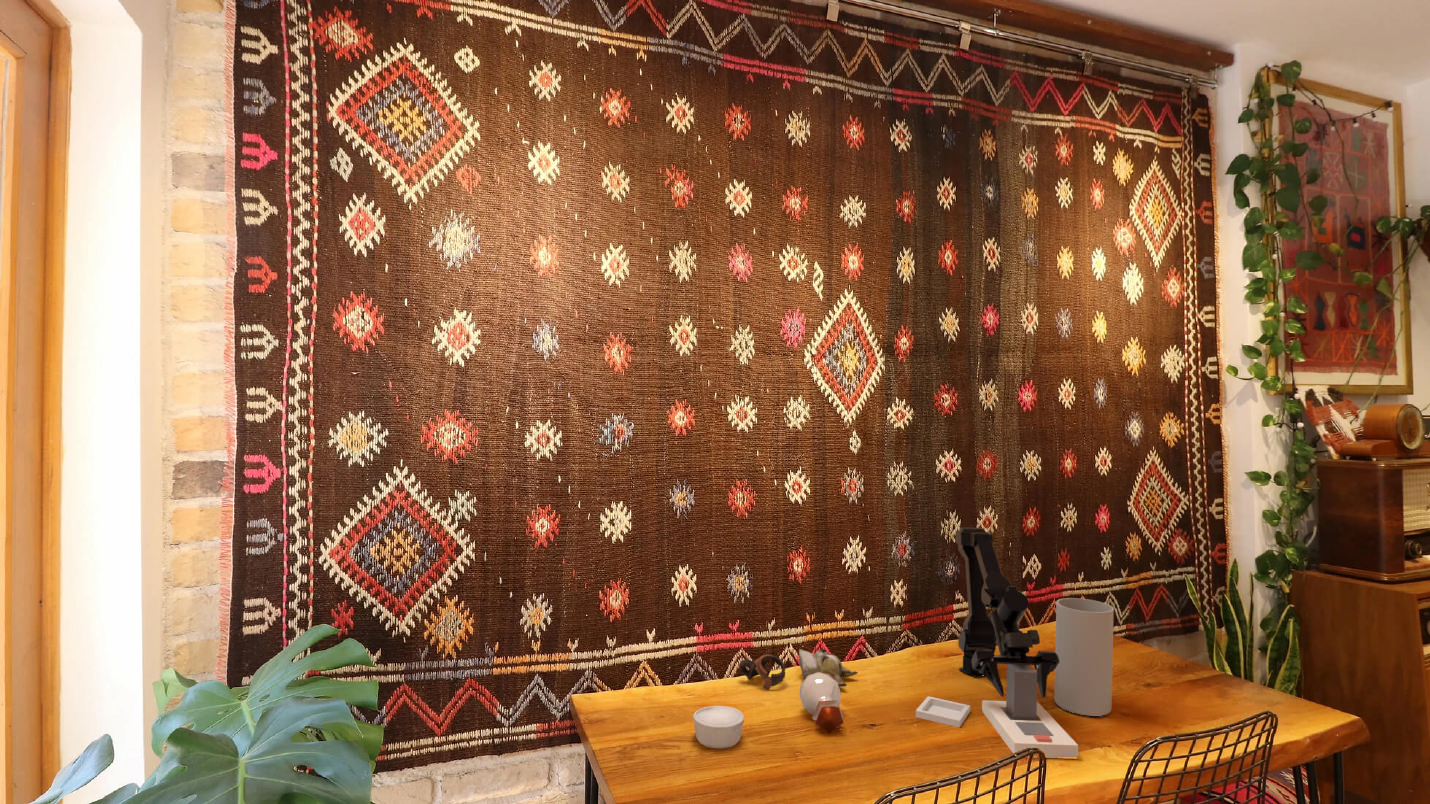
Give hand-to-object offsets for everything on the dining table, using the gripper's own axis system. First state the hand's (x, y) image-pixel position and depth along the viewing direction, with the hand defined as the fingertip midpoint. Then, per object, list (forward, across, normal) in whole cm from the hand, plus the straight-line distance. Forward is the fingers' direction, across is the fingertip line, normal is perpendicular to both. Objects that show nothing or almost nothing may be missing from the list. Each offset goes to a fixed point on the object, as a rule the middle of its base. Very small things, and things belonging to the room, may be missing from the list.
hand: (1023, 696), depth 171 cm
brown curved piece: (-10, -59, +22) cm, 63 cm away
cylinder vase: (-4, +19, +15) cm, 25 cm away
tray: (+1, -16, +9) cm, 19 cm away
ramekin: (+13, -69, -1) cm, 70 cm away
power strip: (+7, 0, +4) cm, 8 cm away
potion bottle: (+4, -45, +7) cm, 45 cm away
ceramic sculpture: (-12, -42, +24) cm, 50 cm away
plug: (+4, 0, +6) cm, 7 cm away
